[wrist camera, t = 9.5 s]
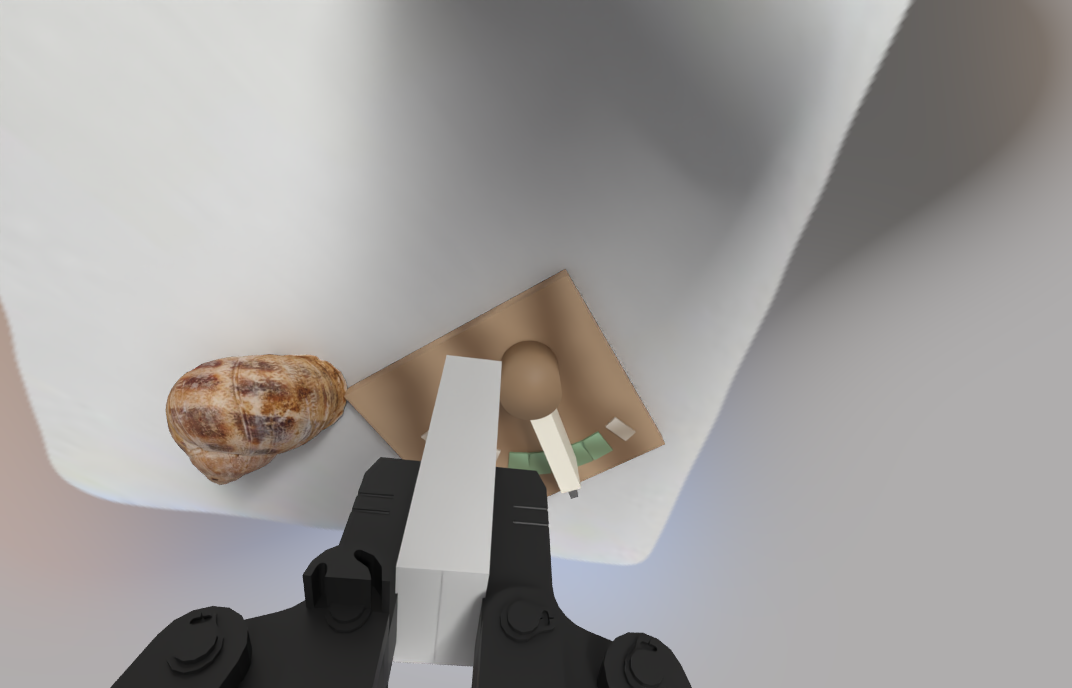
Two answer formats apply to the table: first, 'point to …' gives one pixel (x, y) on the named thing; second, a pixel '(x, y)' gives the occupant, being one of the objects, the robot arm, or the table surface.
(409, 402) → the dial board
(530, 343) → the lever
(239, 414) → the seashell
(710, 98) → the table surface
